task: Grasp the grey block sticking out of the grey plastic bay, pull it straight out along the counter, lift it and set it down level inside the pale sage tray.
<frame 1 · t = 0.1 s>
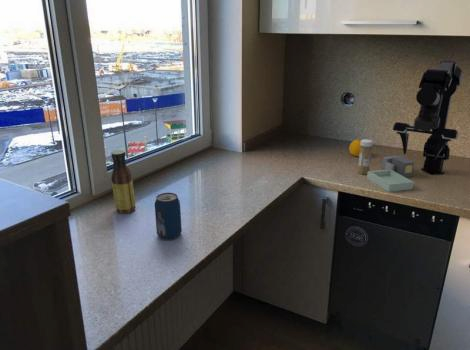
hand: (419, 156, 130), 15 cm above the worktop, tool pointing down, fingers open, 9 cm apart
soda can: (169, 236, 113), on the worktop
sprinkles bottle: (363, 173, 161), on the worktop
grey block: (400, 173, 160), on the worktop
tray: (388, 183, 150), on the worktop
sauce bottle: (125, 210, 128), on the worktop
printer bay: (399, 172, 161), on the worktop
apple: (357, 155, 182), on the worktop
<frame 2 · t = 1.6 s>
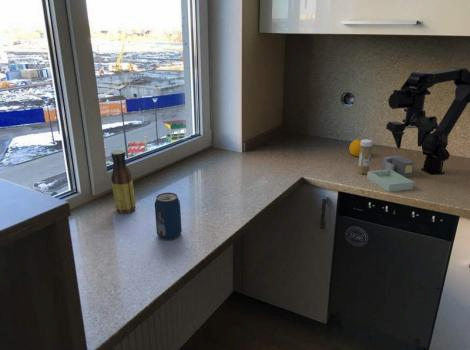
hand: (408, 147, 154), 12 cm above the worktop, tool pointing down, fingers open, 9 cm apart
nothing on the worktop moved.
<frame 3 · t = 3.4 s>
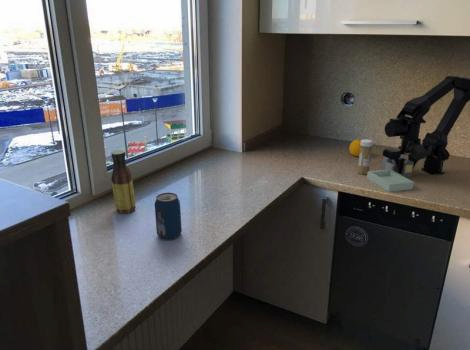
hand: (404, 173, 158), 1 cm above the worktop, tool pointing down, fingers closed on grey block, 4 cm apart
grey block: (400, 173, 160), on the worktop, touching gripper
everything else where it was.
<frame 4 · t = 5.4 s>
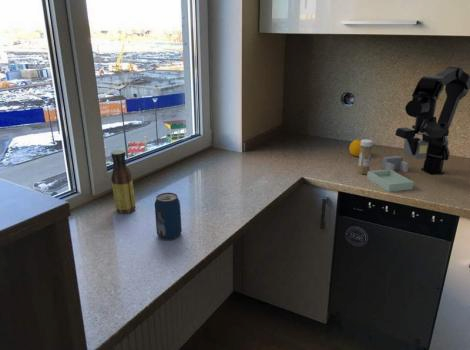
hand: (418, 154, 149), 11 cm above the worktop, tool pointing down, fingers closed on grey block, 4 cm apart
grey block: (414, 155, 151), point 10 cm above the worktop, touching gripper
everything else where it was.
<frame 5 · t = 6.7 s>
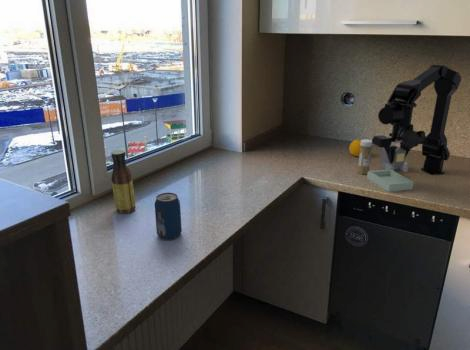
hand: (396, 162, 145), 9 cm above the worktop, tool pointing down, fingers closed on grey block, 4 cm apart
grey block: (392, 163, 147), point 8 cm above the worktop, touching gripper
everything else where it was.
when the fingers open (3 cm above the worktop, at t = 7.9 s): grey block drops 2 cm, resting on tray.
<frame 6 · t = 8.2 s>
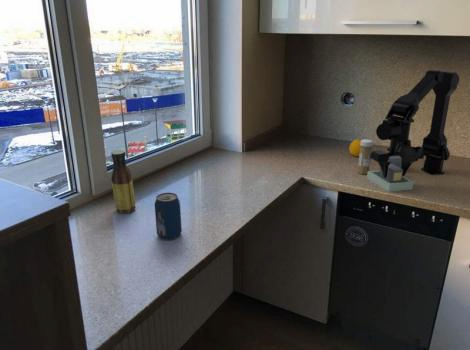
hand: (393, 176, 147), 3 cm above the worktop, tool pointing down, fingers open, 7 cm apart
grey block: (389, 181, 150), point 1 cm above the worktop, touching tray
everything else where it was.
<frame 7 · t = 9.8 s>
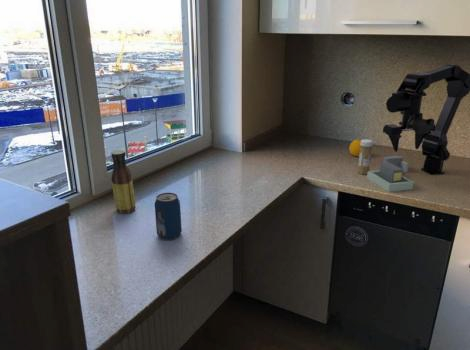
hand: (406, 150, 151), 12 cm above the worktop, tool pointing down, fingers open, 9 cm apart
nothing on the worktop moved.
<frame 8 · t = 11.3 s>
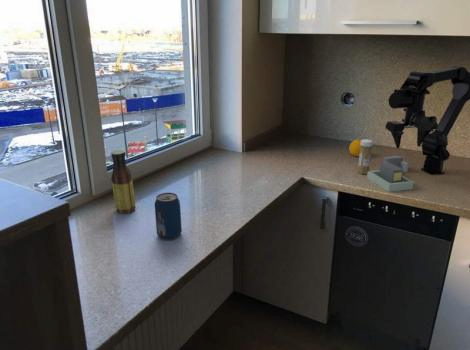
hand: (408, 147, 152), 12 cm above the worktop, tool pointing down, fingers open, 9 cm apart
nothing on the worktop moved.
at the end: grey block inside the target area on the tray (0.1 cm from its centre), point 0.8 cm above the tray's base; grey block tilted 0°; the gripper is holding nothing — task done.
